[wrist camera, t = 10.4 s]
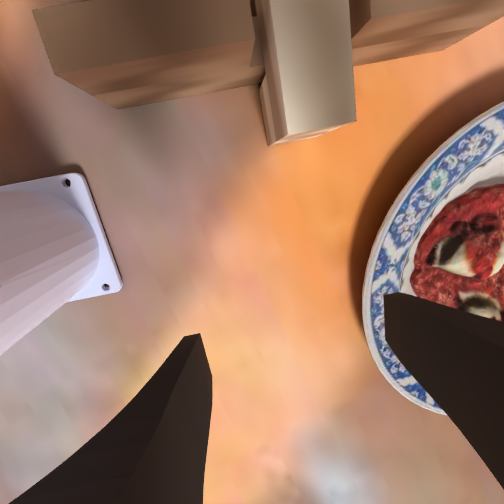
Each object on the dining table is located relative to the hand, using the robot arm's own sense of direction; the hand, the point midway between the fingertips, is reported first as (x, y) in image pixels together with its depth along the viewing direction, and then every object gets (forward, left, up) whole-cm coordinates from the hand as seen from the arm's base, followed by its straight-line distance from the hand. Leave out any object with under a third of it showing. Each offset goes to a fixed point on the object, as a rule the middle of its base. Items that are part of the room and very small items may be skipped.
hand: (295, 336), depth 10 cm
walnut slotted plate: (+3, +12, -9) cm, 16 cm away
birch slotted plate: (+3, +12, -9) cm, 16 cm away
